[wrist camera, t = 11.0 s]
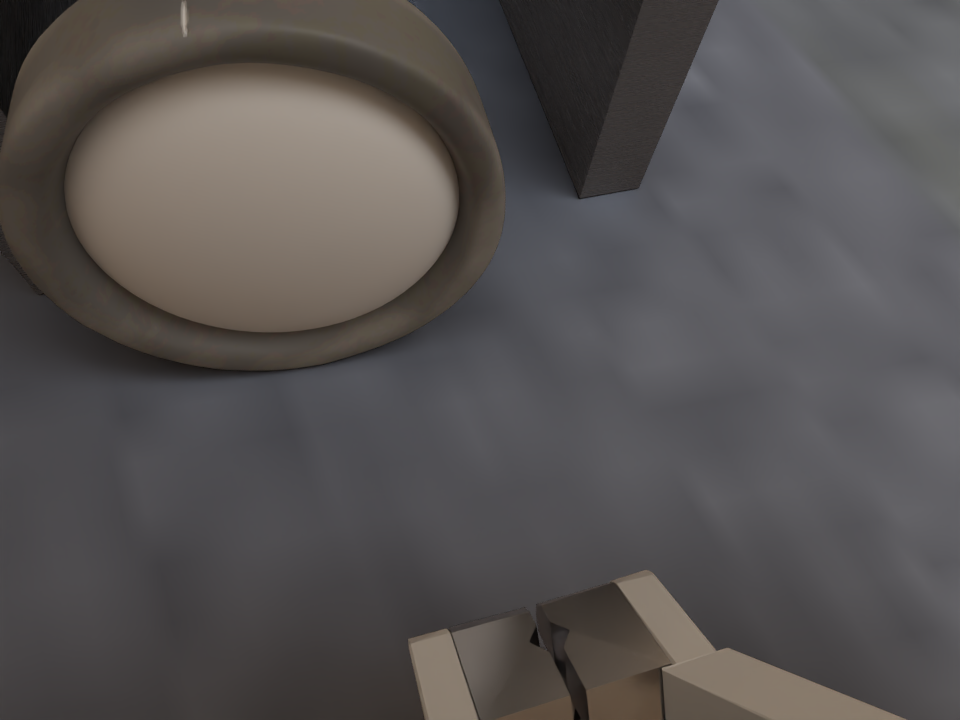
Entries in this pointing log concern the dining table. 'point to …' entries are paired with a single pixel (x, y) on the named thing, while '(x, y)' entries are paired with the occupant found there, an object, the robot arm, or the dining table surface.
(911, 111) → the dining table surface
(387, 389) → the dining table surface
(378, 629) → the dining table surface
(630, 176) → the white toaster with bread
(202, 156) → the vintage flashlight
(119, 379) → the dining table surface
